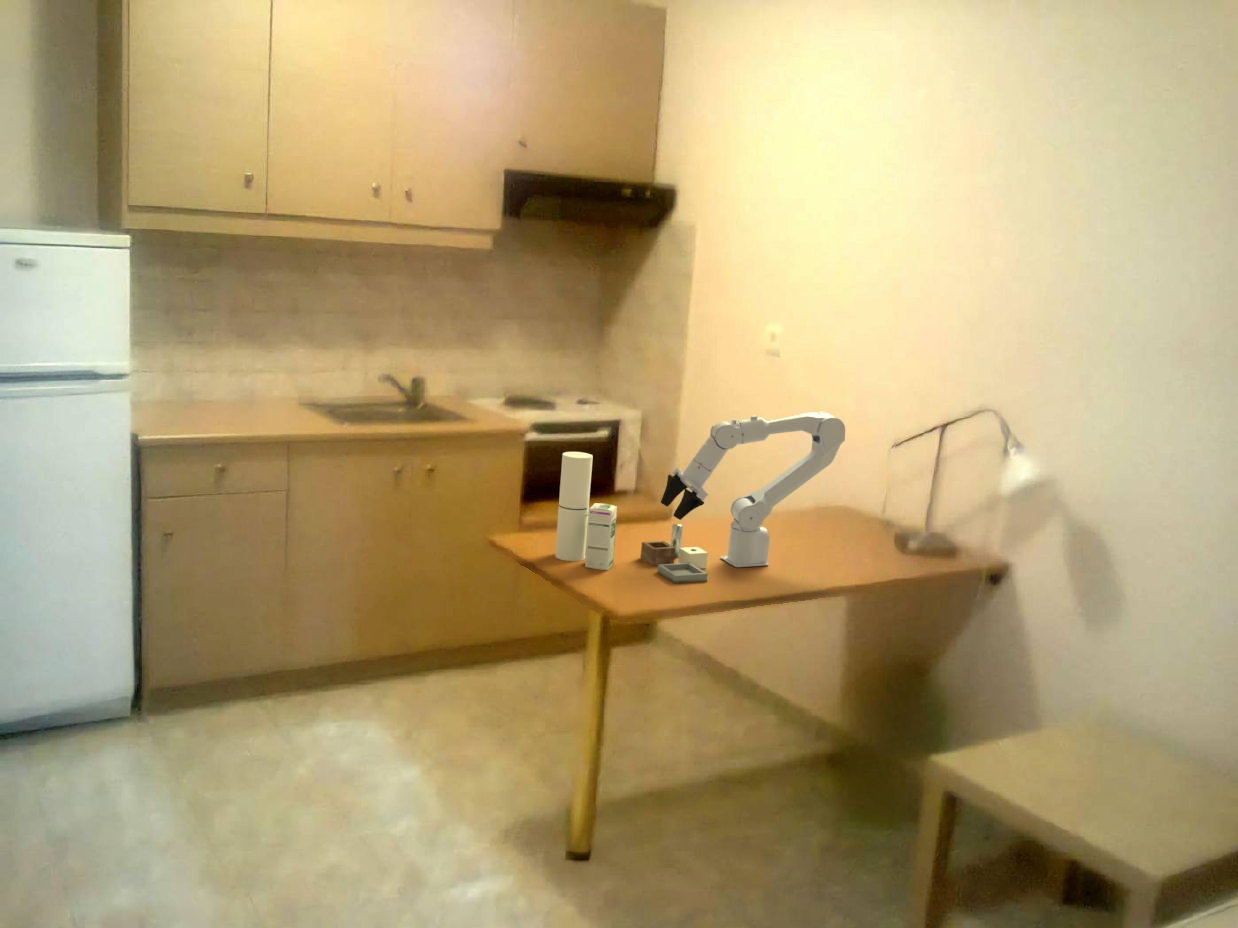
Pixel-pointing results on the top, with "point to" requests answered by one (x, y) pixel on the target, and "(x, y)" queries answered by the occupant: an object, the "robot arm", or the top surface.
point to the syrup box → (600, 536)
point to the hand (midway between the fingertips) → (670, 511)
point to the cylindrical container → (573, 506)
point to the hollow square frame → (657, 552)
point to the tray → (682, 572)
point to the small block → (693, 556)
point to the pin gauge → (676, 537)
